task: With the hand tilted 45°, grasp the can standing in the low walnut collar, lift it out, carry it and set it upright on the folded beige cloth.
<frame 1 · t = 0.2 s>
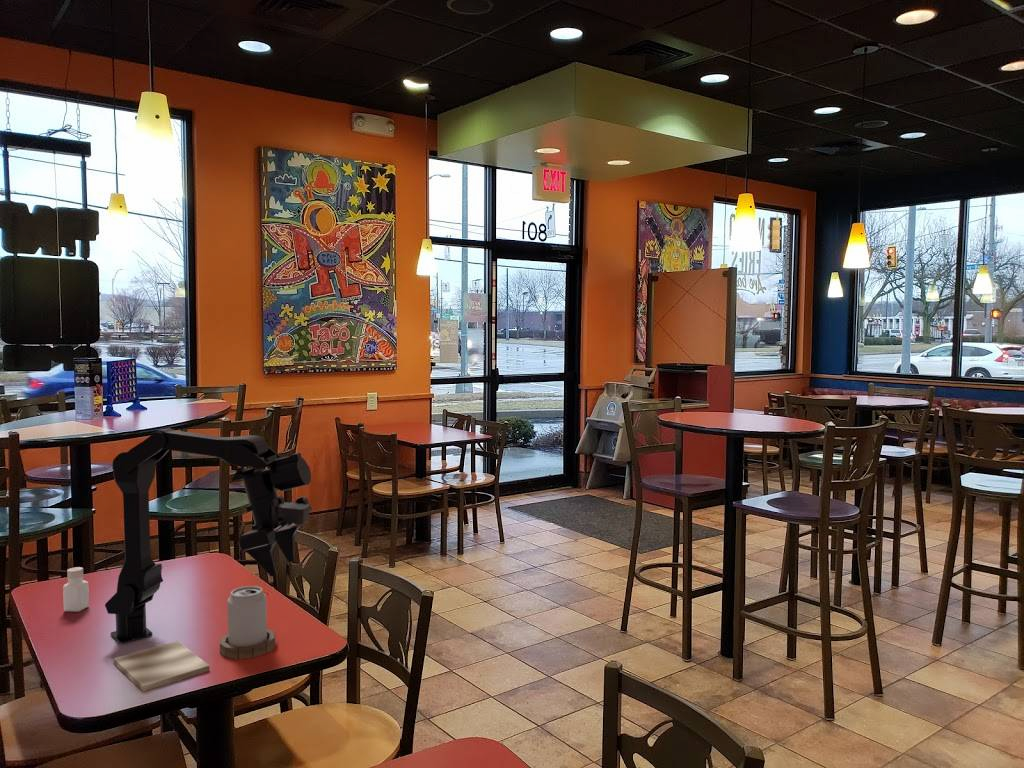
hand: (283, 568, 155), 16 cm above the table, tool tilted 15°, fingers open, 9 cm apart
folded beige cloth: (161, 666, 144), on the table
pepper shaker: (76, 610, 174), on the table
walnut collar: (248, 647, 153), on the table
can: (248, 648, 153), resting in walnut collar
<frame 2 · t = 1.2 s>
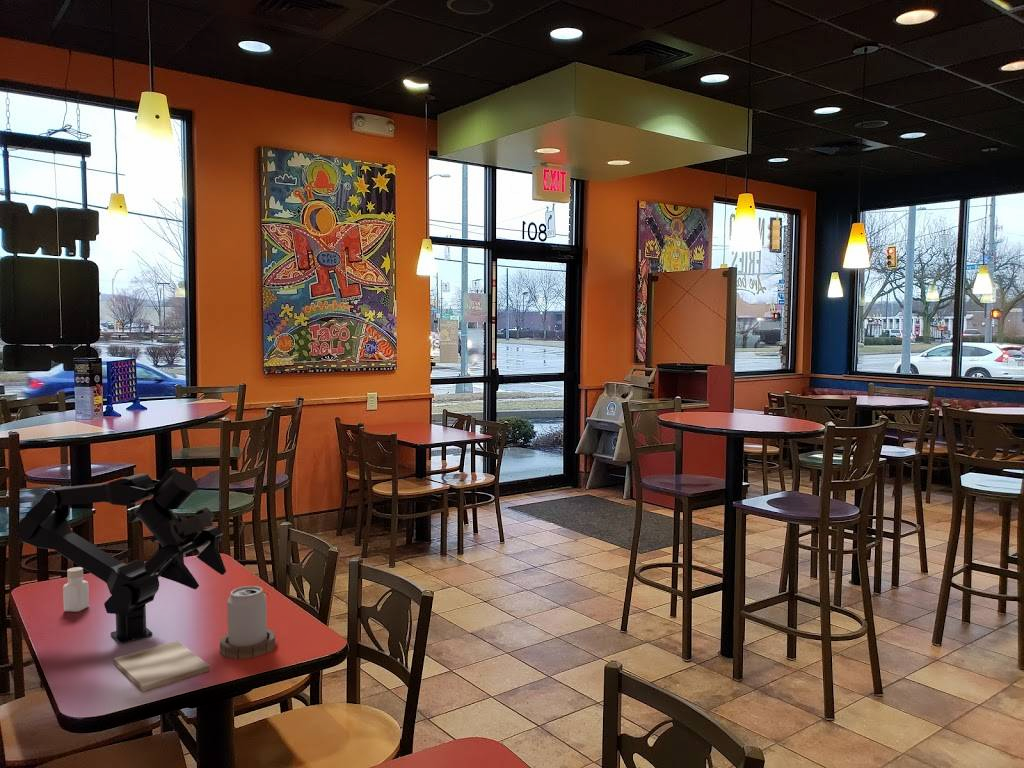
hand: (211, 580, 154), 13 cm above the table, tool tilted 45°, fingers open, 9 cm apart
nothing on the table moved.
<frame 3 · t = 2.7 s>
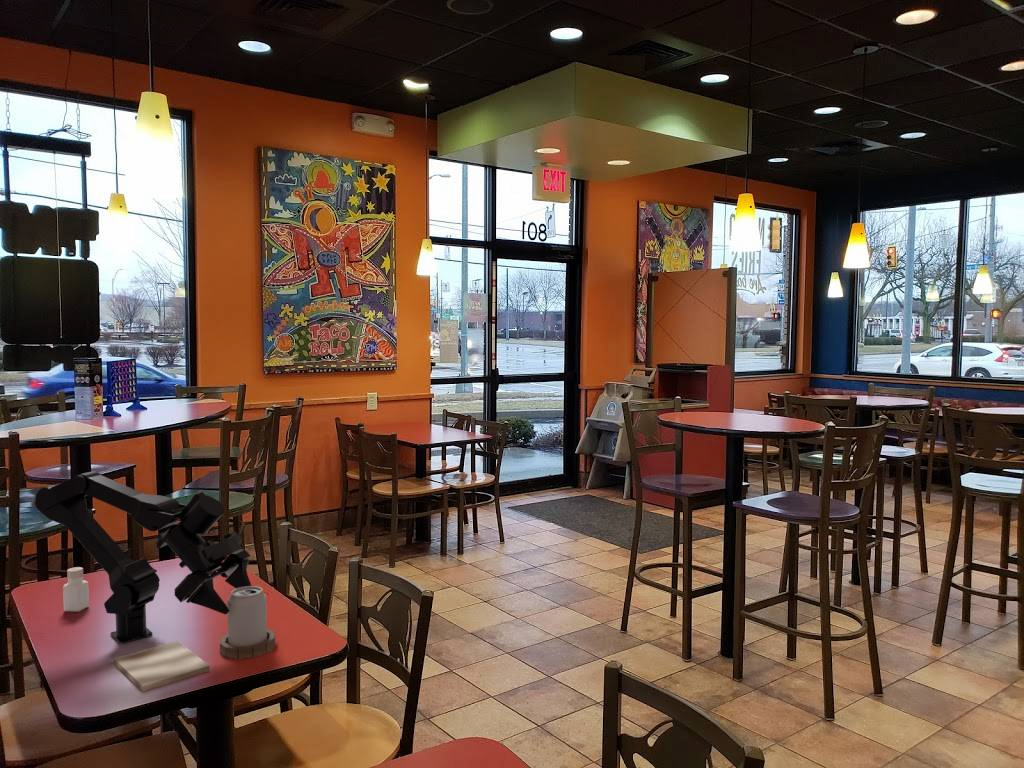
hand: (240, 604, 153), 9 cm above the table, tool tilted 45°, fingers open, 9 cm apart
nothing on the table moved.
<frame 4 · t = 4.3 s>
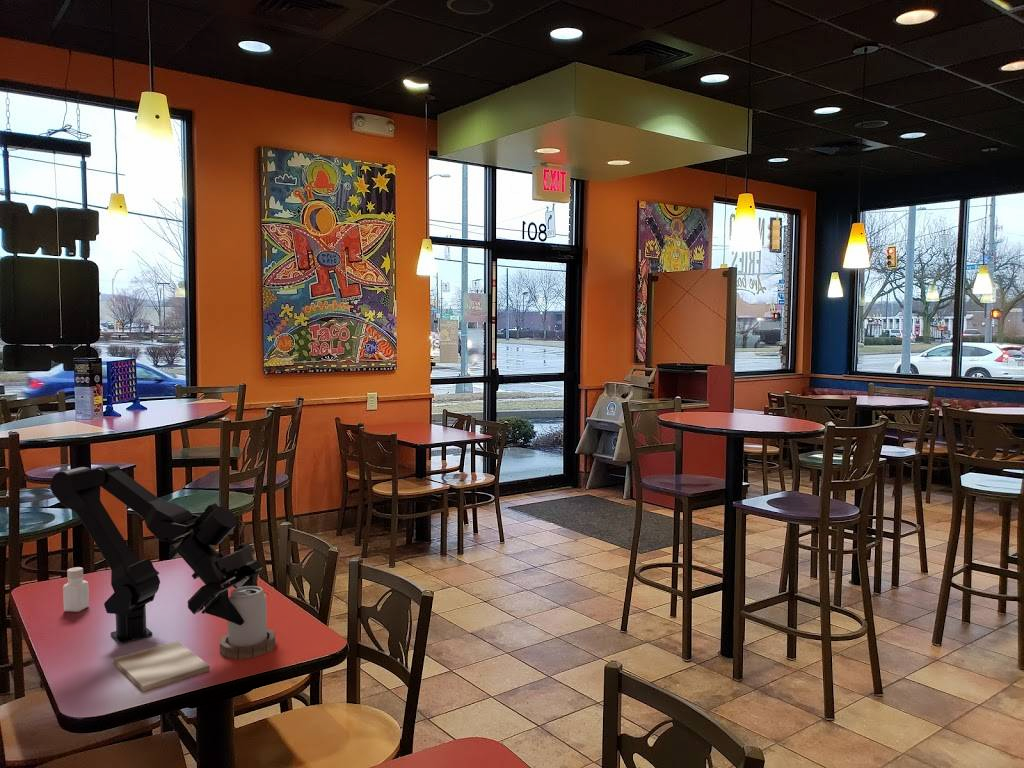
hand: (253, 616, 153), 7 cm above the table, tool tilted 45°, fingers closed on can, 7 cm apart
can: (248, 648, 153), resting in walnut collar, touching gripper
everything else where it was.
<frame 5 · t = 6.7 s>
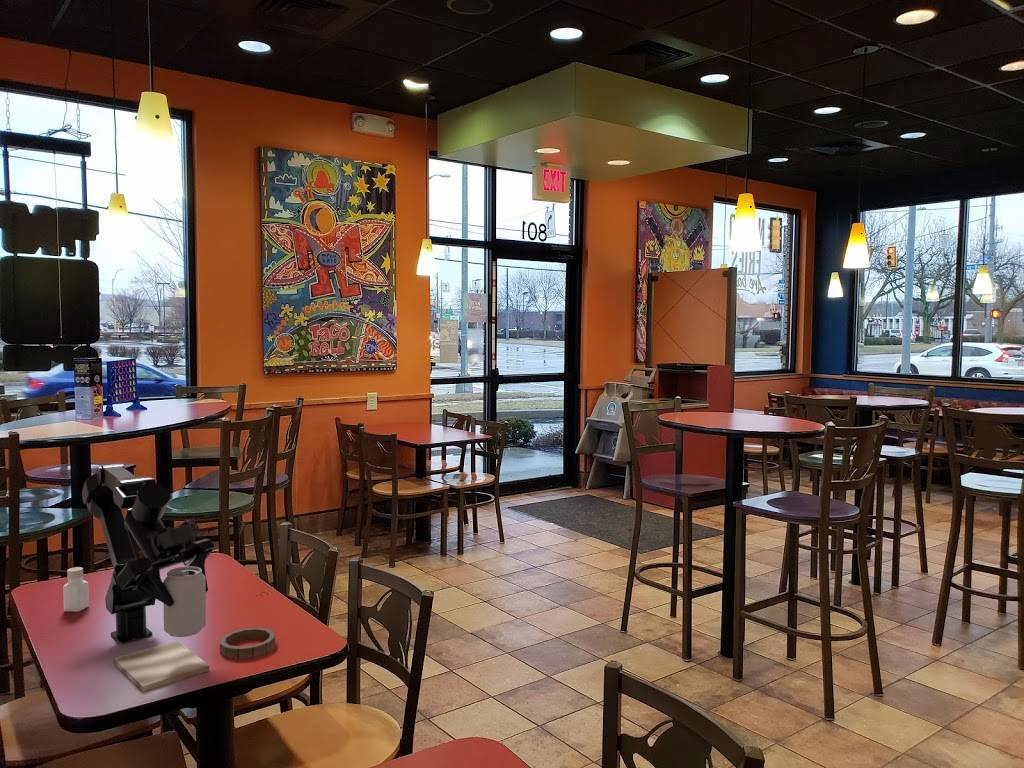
hand: (189, 598, 144), 13 cm above the table, tool tilted 45°, fingers closed on can, 7 cm apart
can: (185, 631, 146), point 6 cm above the table, touching gripper
everything else where it was.
when the fingers open (9 cm above the table, at t = 9.2 s): can drops 1 cm, resting on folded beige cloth.
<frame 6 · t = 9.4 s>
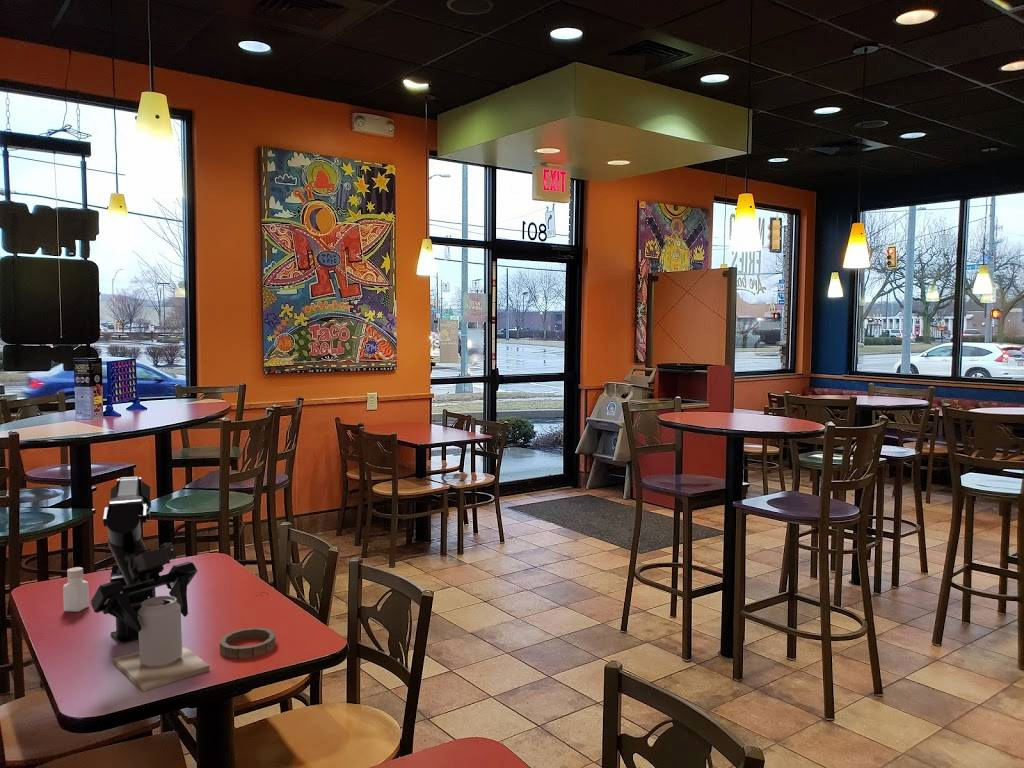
hand: (163, 622, 143), 9 cm above the table, tool tilted 45°, fingers open, 9 cm apart
can: (161, 662, 144), point 1 cm above the table, touching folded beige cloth
everything else where it was.
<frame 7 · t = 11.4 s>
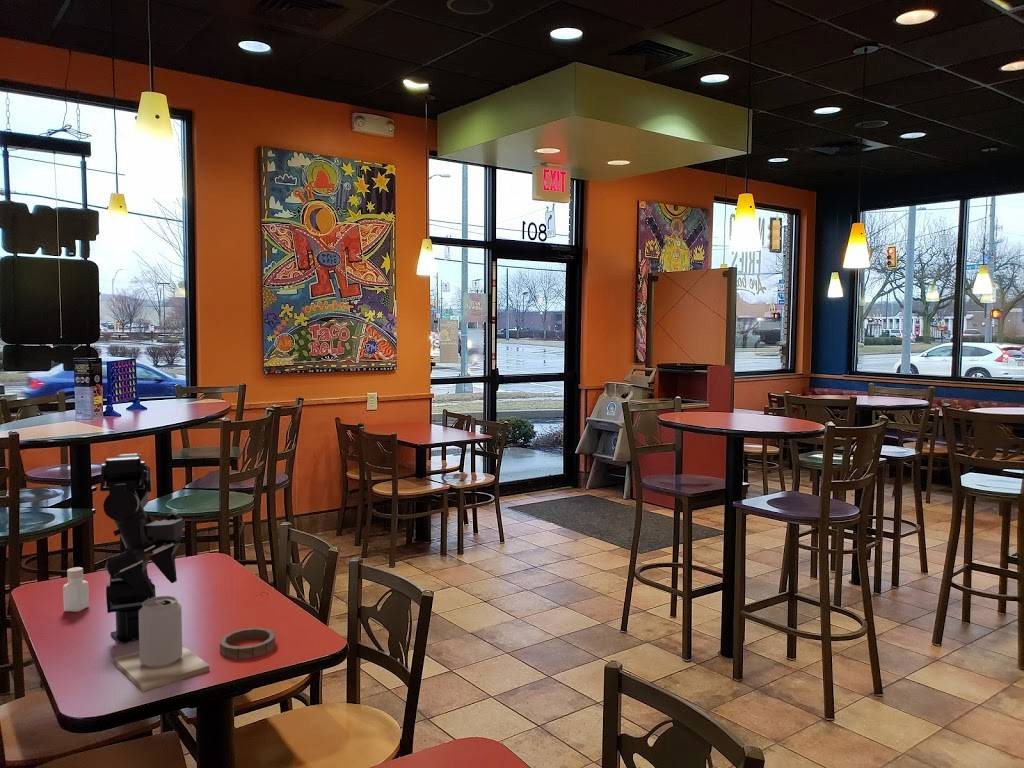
hand: (163, 589, 150), 13 cm above the table, tool tilted 25°, fingers open, 9 cm apart
can: (161, 662, 144), point 1 cm above the table, touching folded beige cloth, gripper
everything else where it was.
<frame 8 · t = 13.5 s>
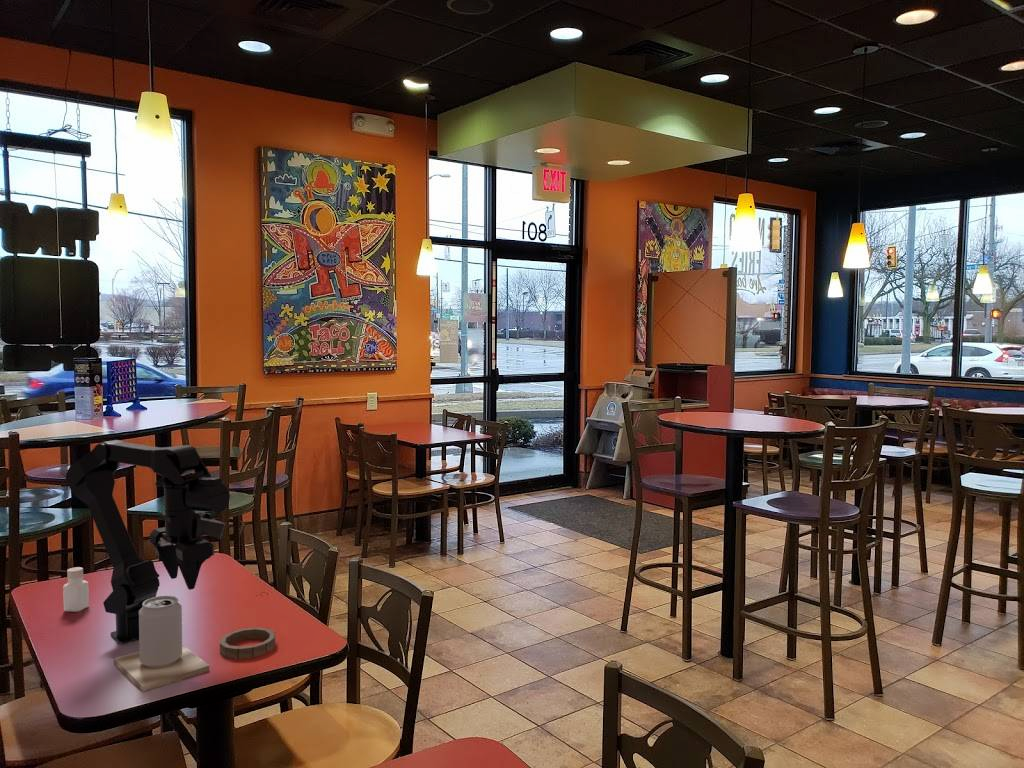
hand: (182, 583, 153), 13 cm above the table, tool pointing down, fingers open, 9 cm apart
can: (161, 662, 144), point 1 cm above the table, touching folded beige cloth
everything else where it was.
at the end: can inside the target area on the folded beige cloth (0.2 cm from its centre), point 0.9 cm above the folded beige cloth's base; can tilted 2°; the gripper is holding nothing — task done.
